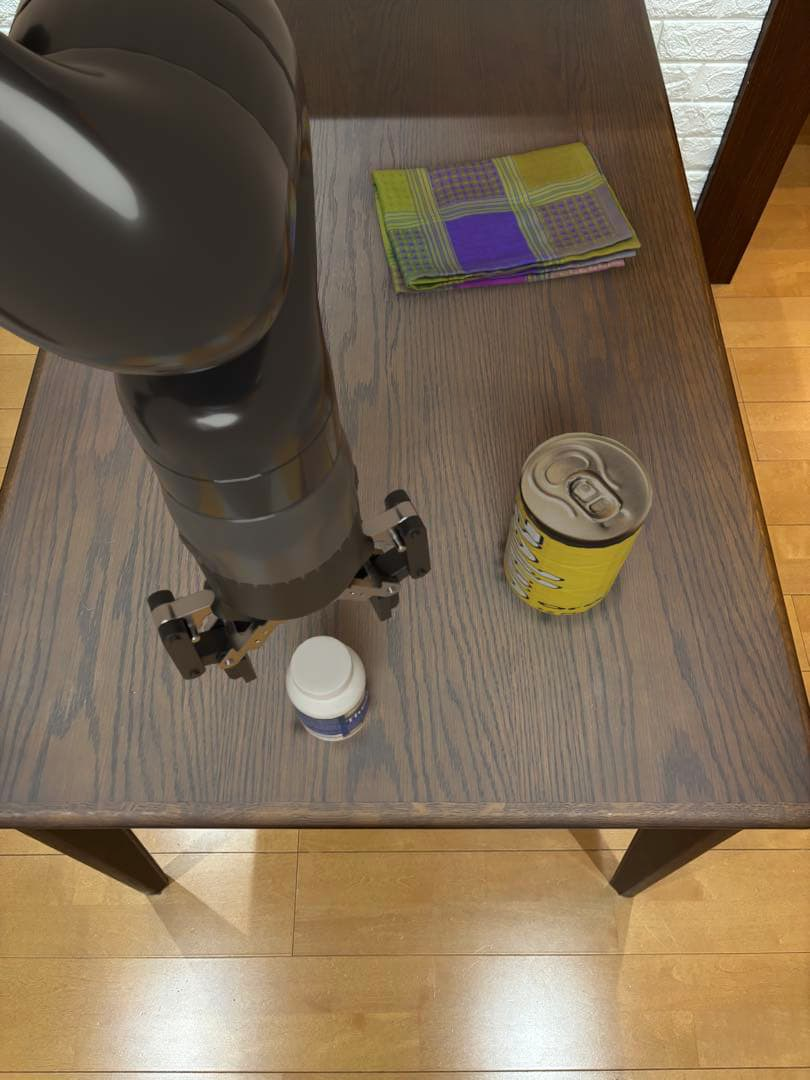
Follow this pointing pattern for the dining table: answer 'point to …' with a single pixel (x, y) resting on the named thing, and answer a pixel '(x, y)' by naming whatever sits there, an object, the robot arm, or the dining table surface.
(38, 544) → the dining table surface
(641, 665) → the dining table surface
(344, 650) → the pill bottle
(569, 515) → the beverage can
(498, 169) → the dish towel
